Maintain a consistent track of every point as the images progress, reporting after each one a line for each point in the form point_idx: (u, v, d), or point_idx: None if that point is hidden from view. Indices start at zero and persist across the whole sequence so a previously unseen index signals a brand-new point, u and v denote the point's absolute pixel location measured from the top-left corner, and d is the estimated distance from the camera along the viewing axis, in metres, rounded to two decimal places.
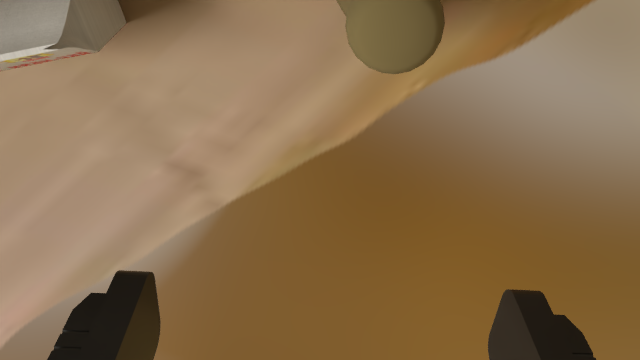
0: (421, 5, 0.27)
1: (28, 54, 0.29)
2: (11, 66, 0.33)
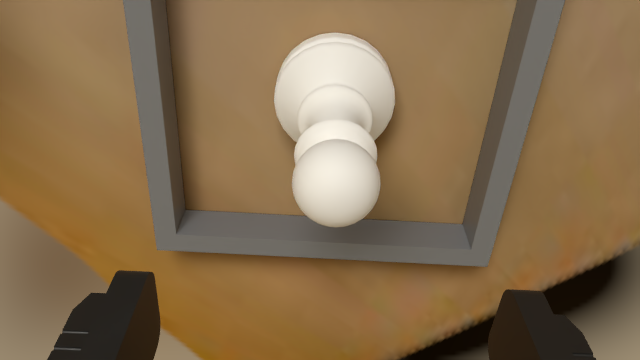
0: None
1: None
2: None
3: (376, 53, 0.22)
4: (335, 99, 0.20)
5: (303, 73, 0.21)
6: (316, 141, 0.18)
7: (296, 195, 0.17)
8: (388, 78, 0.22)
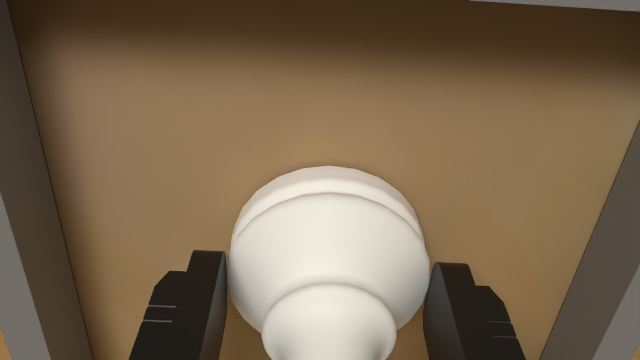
0: None
1: None
2: None
3: (399, 202, 0.13)
4: (329, 314, 0.11)
5: (272, 250, 0.12)
6: None
7: None
8: (421, 250, 0.13)
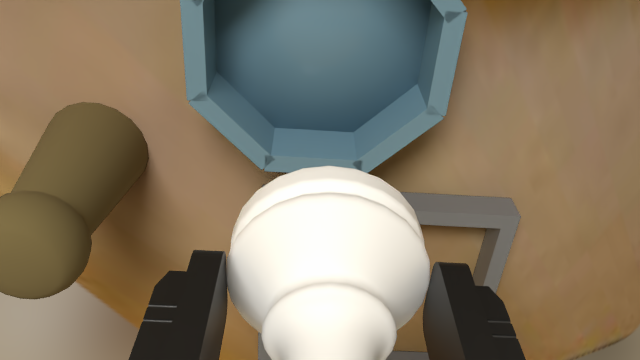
0: (53, 285, 0.25)
1: None
2: None
3: (399, 202, 0.13)
4: (329, 313, 0.11)
5: (272, 250, 0.12)
6: None
7: None
8: (420, 250, 0.13)
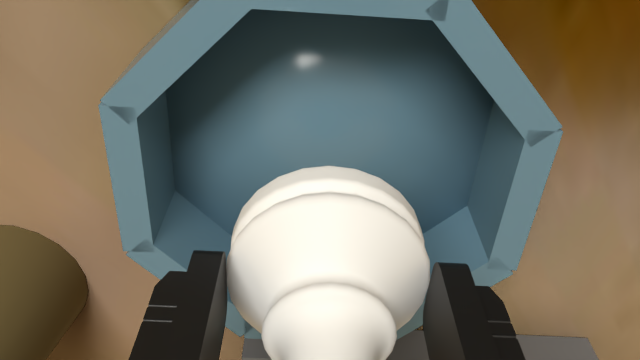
0: None
1: None
2: None
3: (399, 202, 0.13)
4: (329, 314, 0.11)
5: (272, 250, 0.12)
6: None
7: None
8: (420, 250, 0.13)
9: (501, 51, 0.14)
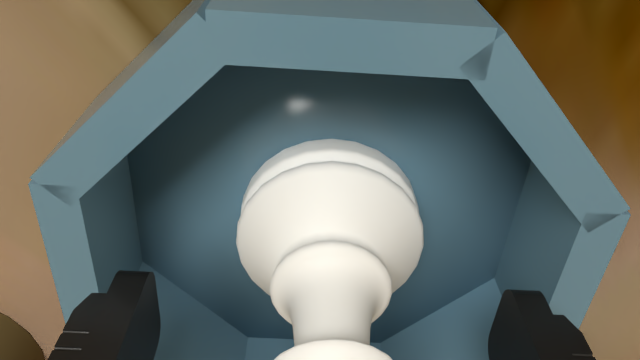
0: None
1: None
2: None
3: (395, 172, 0.14)
4: (331, 267, 0.12)
5: (280, 213, 0.13)
6: None
7: None
8: (414, 214, 0.14)
9: (558, 117, 0.11)
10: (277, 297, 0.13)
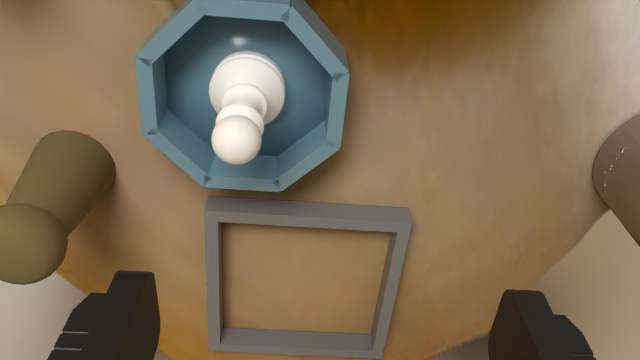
0: (38, 273, 0.33)
1: None
2: None
3: (273, 64, 0.36)
4: (242, 92, 0.34)
5: (225, 76, 0.35)
6: (227, 116, 0.32)
7: (212, 145, 0.30)
8: (279, 80, 0.35)
9: (315, 35, 0.32)
10: (223, 107, 0.34)
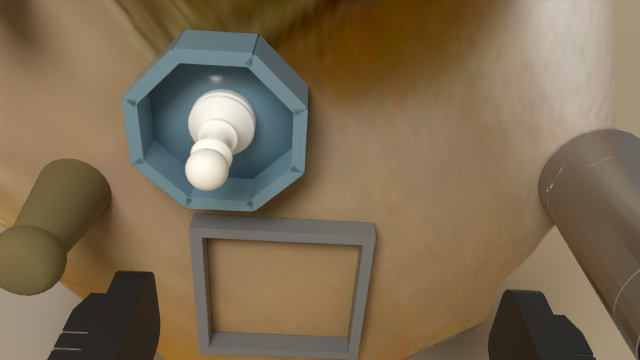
0: (41, 286, 0.39)
1: None
2: None
3: (243, 100, 0.41)
4: (215, 126, 0.39)
5: (201, 112, 0.40)
6: (199, 149, 0.37)
7: (186, 175, 0.35)
8: (248, 114, 0.41)
9: (275, 78, 0.37)
10: (199, 139, 0.40)
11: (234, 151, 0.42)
